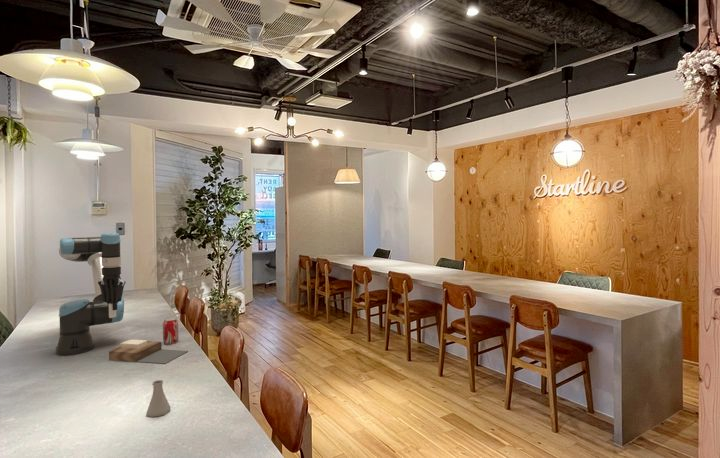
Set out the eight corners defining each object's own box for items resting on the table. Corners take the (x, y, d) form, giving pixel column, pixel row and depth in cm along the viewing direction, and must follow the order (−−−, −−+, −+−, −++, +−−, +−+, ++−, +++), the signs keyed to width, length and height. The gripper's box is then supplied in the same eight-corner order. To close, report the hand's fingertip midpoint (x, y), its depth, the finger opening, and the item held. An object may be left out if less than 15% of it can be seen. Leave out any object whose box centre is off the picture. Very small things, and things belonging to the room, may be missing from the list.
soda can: (172, 345, 198) (172, 321, 197) (159, 344, 199) (159, 320, 199) (181, 340, 205) (181, 317, 204) (169, 340, 206) (168, 316, 206)
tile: (120, 347, 182) (120, 343, 182) (130, 343, 188) (130, 339, 188) (137, 348, 180) (137, 344, 180) (147, 344, 186) (147, 340, 186)
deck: (109, 360, 177) (108, 351, 177) (135, 348, 193) (135, 340, 193) (136, 362, 175) (136, 353, 175) (161, 350, 190) (161, 341, 190)
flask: (151, 407, 133) (151, 377, 133) (174, 406, 134) (173, 376, 134) (141, 418, 126) (141, 387, 126) (165, 417, 127) (164, 386, 126)
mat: (136, 362, 175) (136, 361, 175) (161, 350, 190) (161, 349, 190) (165, 364, 172) (165, 363, 172) (187, 351, 188) (187, 350, 188)
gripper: (92, 267, 182) (93, 318, 183) (117, 267, 180) (118, 319, 181) (105, 265, 190) (107, 314, 190) (129, 265, 187) (131, 315, 188)
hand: (112, 317), depth 186 cm, fingers closed
